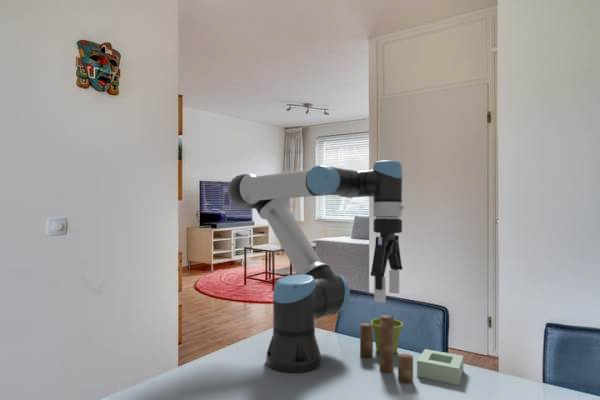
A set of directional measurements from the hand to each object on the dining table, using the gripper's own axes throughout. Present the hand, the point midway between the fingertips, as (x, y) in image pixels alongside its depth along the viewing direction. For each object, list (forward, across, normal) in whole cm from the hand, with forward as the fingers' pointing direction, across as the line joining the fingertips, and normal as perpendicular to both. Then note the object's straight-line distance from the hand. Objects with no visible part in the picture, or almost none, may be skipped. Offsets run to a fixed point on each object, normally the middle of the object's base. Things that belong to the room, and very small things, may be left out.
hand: (387, 297), depth 104 cm
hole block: (+19, +5, -13) cm, 24 cm away
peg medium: (+19, +7, +8) cm, 22 cm away
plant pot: (+19, +14, +4) cm, 24 cm away
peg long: (+19, 0, 0) cm, 19 cm away
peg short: (+19, -4, -6) cm, 21 cm away
